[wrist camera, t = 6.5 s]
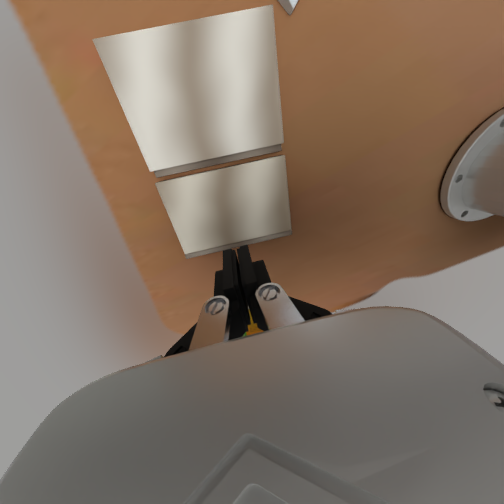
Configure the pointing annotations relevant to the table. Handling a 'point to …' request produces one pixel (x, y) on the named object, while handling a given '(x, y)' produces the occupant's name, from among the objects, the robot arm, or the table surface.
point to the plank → (229, 206)
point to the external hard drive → (288, 5)
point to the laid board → (199, 89)
